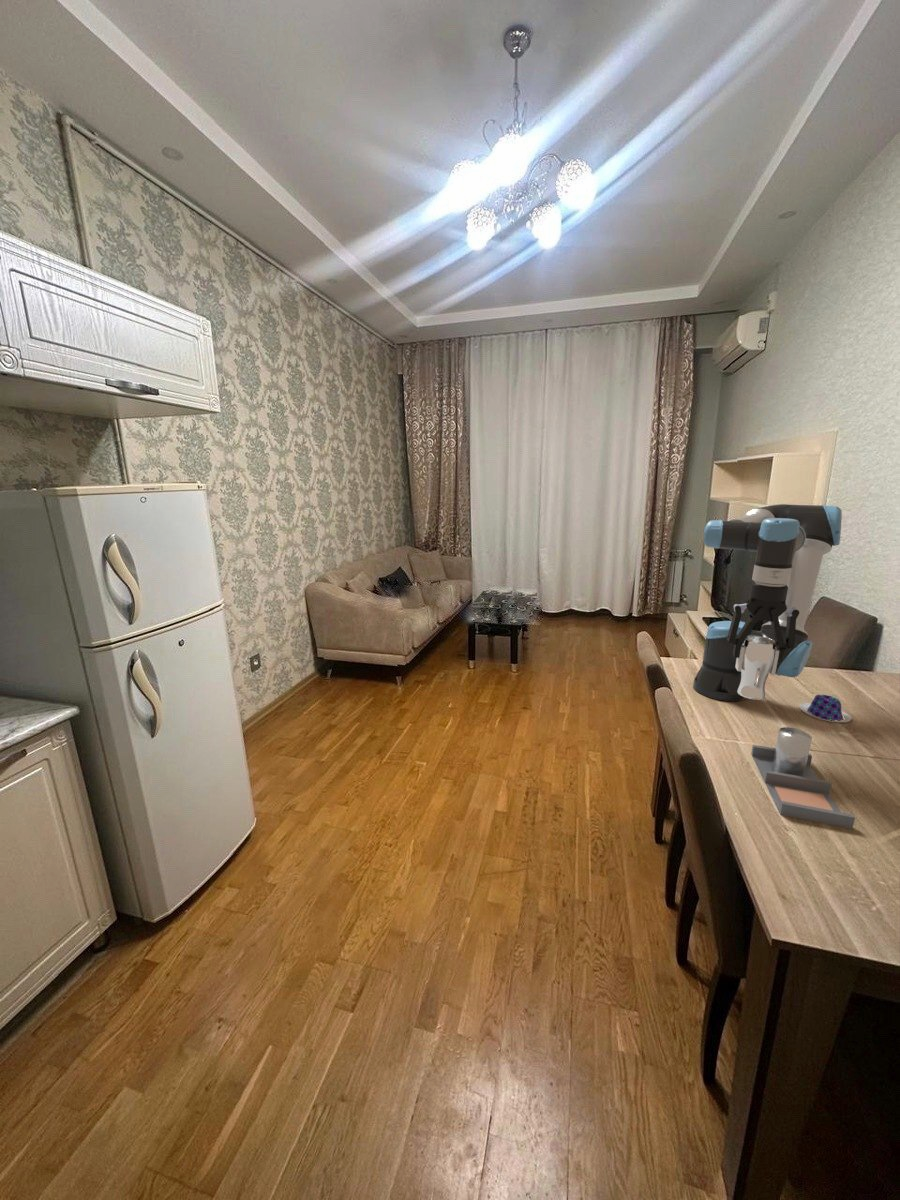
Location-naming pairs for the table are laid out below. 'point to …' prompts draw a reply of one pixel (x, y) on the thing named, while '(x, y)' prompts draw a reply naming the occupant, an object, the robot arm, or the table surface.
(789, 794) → the slot rack
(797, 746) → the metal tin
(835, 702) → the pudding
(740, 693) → the beer glass
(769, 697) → the table surface
